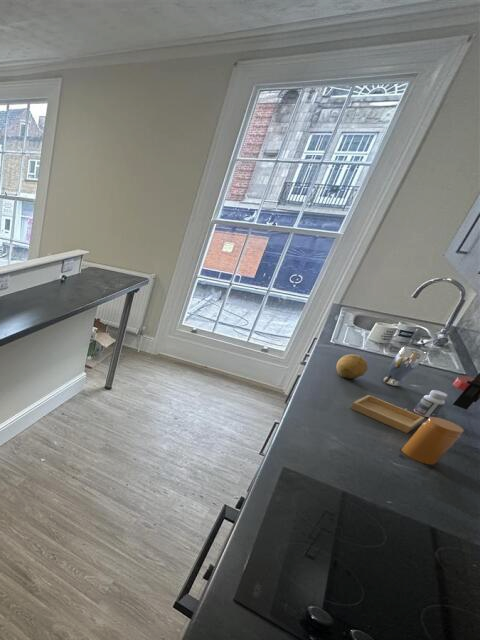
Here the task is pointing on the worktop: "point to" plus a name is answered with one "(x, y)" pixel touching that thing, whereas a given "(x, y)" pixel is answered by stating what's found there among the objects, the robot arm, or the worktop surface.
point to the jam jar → (432, 440)
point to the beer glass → (403, 365)
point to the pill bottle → (431, 404)
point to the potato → (351, 366)
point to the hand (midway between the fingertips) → (464, 403)
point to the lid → (462, 382)
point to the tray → (387, 413)
